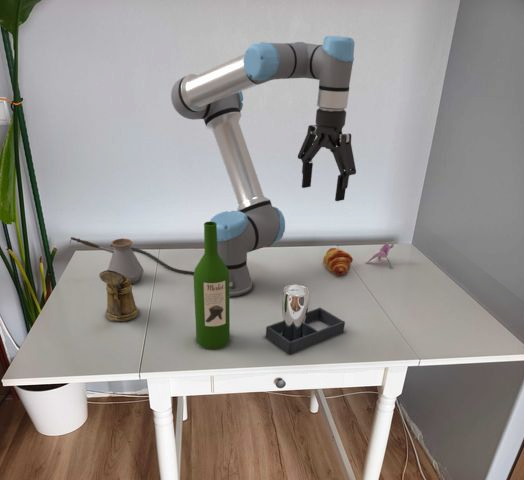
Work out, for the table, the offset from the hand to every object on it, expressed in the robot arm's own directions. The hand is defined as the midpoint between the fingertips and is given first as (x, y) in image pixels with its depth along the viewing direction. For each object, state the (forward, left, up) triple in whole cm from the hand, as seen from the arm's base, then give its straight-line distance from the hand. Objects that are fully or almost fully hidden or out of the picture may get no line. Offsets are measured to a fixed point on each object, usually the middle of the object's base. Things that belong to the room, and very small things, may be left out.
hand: (322, 193), depth 137 cm
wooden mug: (-42, -39, -34) cm, 67 cm away
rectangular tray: (+7, -19, -34) cm, 39 cm away
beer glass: (+5, -24, -34) cm, 41 cm away
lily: (+10, +41, -34) cm, 54 cm away
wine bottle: (-13, -35, -34) cm, 51 cm away
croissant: (-3, +30, -34) cm, 45 cm away
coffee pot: (-62, -22, -34) cm, 74 cm away
